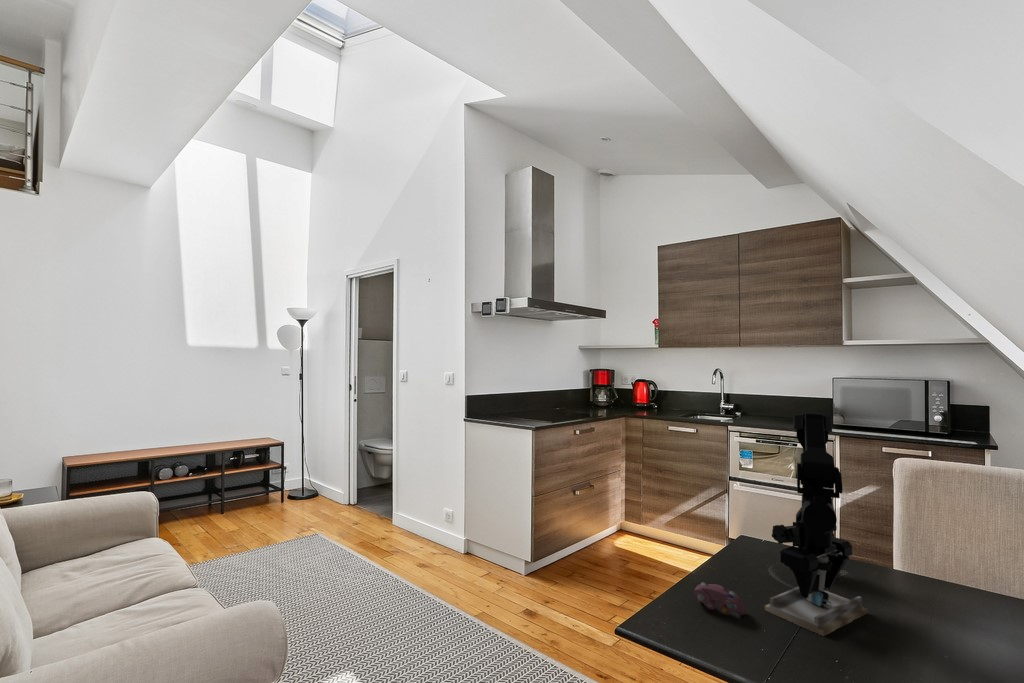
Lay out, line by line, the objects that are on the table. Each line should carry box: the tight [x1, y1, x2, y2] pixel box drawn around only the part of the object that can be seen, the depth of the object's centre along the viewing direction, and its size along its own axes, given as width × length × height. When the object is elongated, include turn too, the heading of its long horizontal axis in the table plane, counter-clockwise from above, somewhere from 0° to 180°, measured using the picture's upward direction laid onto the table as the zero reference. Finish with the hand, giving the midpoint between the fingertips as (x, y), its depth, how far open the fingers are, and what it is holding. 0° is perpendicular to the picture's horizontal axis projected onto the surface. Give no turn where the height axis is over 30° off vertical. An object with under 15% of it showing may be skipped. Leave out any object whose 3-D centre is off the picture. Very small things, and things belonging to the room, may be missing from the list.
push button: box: [803, 555, 833, 608], centre depth 112 cm, size 7×5×10 cm
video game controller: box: [693, 581, 747, 616], centre depth 111 cm, size 10×5×7 cm, turn 49°
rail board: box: [764, 586, 868, 637], centre depth 111 cm, size 18×12×3 cm, turn 123°
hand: (816, 592), depth 111 cm, fingers open, 9 cm apart
